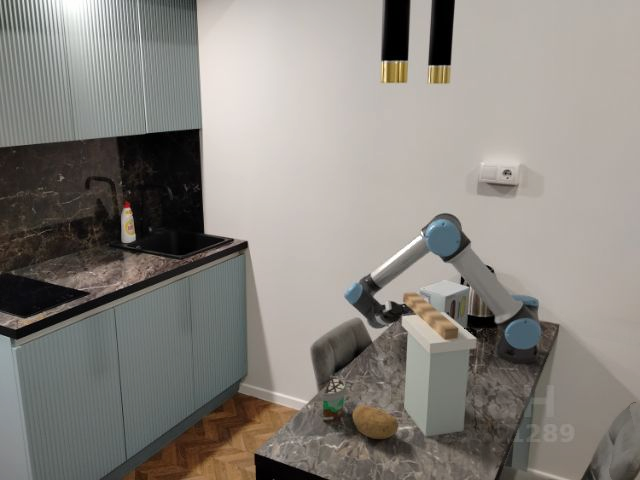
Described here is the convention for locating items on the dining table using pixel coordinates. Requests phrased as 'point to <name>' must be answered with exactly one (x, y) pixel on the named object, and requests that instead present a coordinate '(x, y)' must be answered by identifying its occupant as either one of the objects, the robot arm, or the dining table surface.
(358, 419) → the potato
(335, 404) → the food container
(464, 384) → the box
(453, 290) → the supplement box
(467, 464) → the dining table surface
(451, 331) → the oak slat
